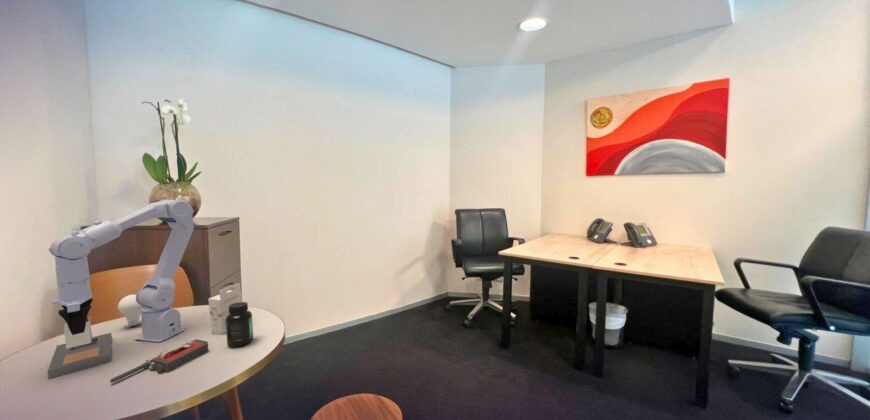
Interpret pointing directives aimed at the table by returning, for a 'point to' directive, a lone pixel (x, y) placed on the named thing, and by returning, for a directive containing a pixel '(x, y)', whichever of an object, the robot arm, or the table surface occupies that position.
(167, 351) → the walkie-talkie
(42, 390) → the table surface
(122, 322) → the table surface
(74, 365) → the hole plate
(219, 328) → the ink cartridge box
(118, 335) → the table surface
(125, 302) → the light bulb
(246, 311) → the supplement bottle
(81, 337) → the square peg
